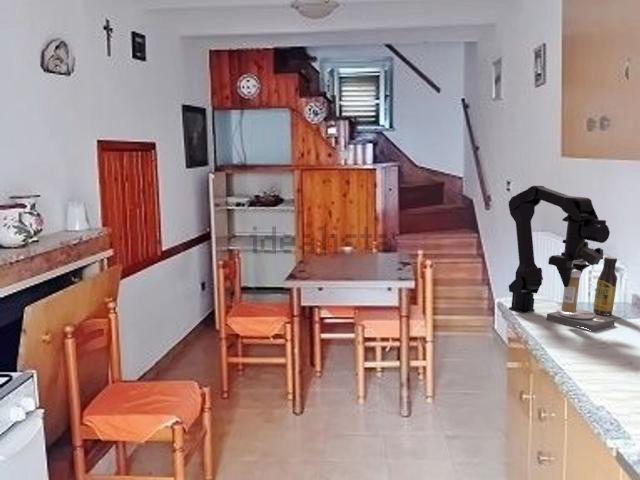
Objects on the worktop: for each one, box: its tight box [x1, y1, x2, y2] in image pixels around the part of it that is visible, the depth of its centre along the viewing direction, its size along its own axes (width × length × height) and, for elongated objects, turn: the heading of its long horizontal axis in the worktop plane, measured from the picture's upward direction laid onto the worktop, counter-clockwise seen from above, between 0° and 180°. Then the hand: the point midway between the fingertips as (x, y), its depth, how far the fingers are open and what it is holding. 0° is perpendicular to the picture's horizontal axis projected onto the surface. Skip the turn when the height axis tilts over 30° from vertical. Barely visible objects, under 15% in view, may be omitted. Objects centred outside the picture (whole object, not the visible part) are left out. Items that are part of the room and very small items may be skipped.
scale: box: [545, 311, 616, 332], centre depth 228 cm, size 16×14×2 cm
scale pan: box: [556, 307, 595, 320], centre depth 229 cm, size 12×12×1 cm
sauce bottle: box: [592, 256, 618, 316], centre depth 240 cm, size 6×6×20 cm
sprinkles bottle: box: [561, 270, 582, 313], centre depth 221 cm, size 5×5×14 cm
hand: (569, 286), depth 221 cm, fingers closed on sprinkles bottle, 4 cm apart
